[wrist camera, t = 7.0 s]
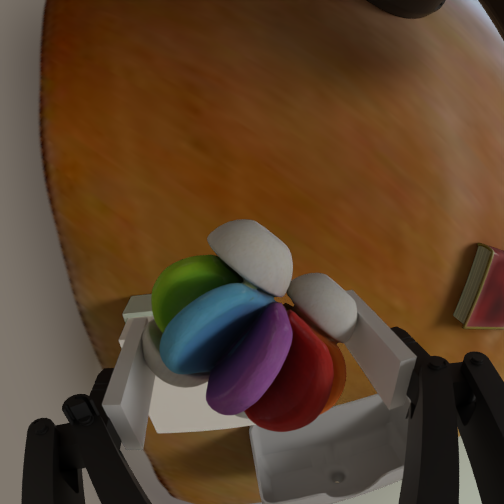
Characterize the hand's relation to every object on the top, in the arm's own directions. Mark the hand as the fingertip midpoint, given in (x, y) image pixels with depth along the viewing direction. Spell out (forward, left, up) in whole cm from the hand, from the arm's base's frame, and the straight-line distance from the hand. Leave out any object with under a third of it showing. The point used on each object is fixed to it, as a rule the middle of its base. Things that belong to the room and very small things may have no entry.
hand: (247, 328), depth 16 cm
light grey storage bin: (+35, +11, -17) cm, 41 cm away
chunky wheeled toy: (-1, 0, -1) cm, 1 cm away
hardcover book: (+13, +42, -17) cm, 47 cm away
